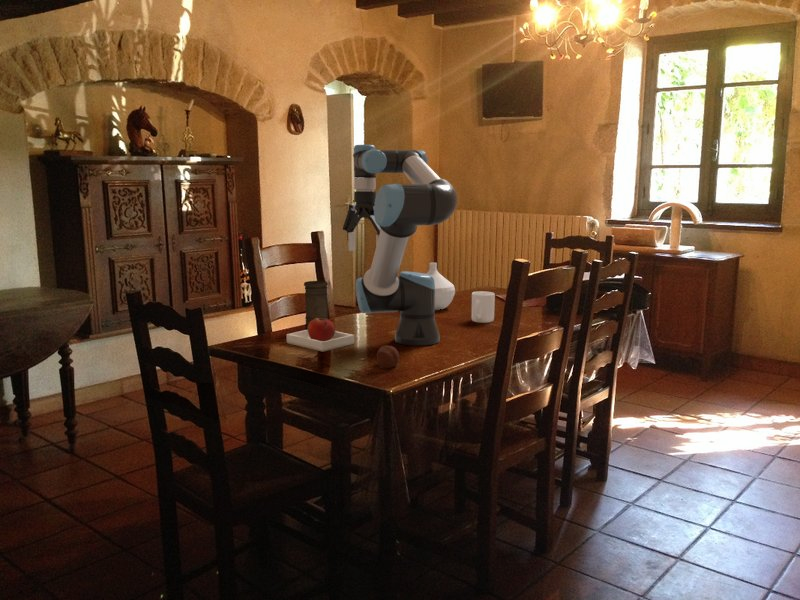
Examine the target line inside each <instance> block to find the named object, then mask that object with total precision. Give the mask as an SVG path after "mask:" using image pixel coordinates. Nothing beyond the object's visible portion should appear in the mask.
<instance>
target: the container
mask: <svg viewBox="0 0 800 600" xmlns="http://www.w3.org/2000/svg"><path fill="white" fill-rule="evenodd" d="M328 285H329V283H328V281H325V280H324V281H323V280H310V281H305V282H304V283H303V286H304V290H305V293H304V297H305V298H304V299H305V318H304V319H305V324H304V327H305V328H304V330H307V329H308V324H309V323H310V321H312V320H314V319H315V318H325V319H328V320H329V316H328V292H327V291H328V287H327V286H328Z"/></svg>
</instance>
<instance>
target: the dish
mask: <svg viewBox="0 0 800 600" xmlns="http://www.w3.org/2000/svg"><path fill="white" fill-rule="evenodd" d="M286 343H287V344H289V345H295V346H298V347H302V348H305V349H310V350H315V351H319V352H328V351H333V350H336V349H339V348H343V347H348V346H351V345H355V334H352V333H345V332H342V331H338V330H335V334H334V336H333V337H332V338H331V339H330V340H327V341H318V340H314V339H311V338H310V336H309V333H308V330H305V329H304V330H300V331H295V332H291V333H290V332H289V333H287V334H286Z"/></svg>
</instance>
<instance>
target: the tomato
mask: <svg viewBox="0 0 800 600" xmlns="http://www.w3.org/2000/svg"><path fill="white" fill-rule="evenodd" d="M307 330H308V333H309V336H310V338H311V339H314V340H318V341H327V340H330V339H331V338H332V337H333V336H334V334H335V331H336V327H335V325H334V322H333V321H331V320H330V319H329V318H328V319H325V318H315V319H314V320H312V321H310V323H309V324H308V329H307Z"/></svg>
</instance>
